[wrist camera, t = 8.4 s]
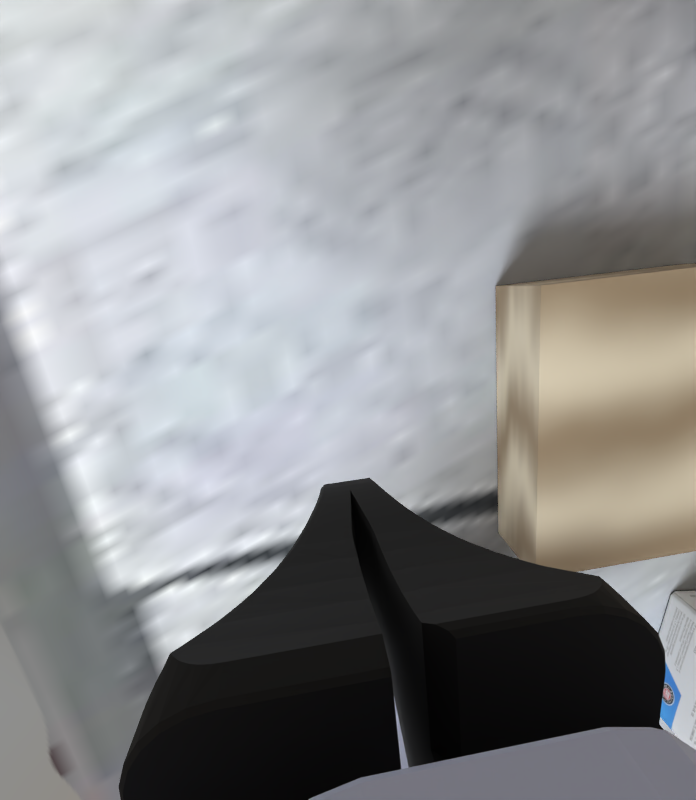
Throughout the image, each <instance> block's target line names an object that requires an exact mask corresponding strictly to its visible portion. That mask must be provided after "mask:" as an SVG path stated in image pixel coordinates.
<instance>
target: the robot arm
mask: <svg viewBox="0 0 696 800" xmlns="http://www.w3.org/2000/svg"><path fill="white" fill-rule="evenodd" d="M665 672H666V665H665V649H664V647H663V644H662V642H661V639H660V637H659V634H658V633H657V632H656V631H655V630H654V628H653V627H652V626H651V625H650V624H649V623H648V622H647V621H646V620H645V619H644V618H643V617H642V616H641V615H640V614H639V613H638V612H637V611H636V610H635V609H634V608H633V607H632V606H631V605H630V604H629V603H628V602H627V601H626V600H625V599H624V598H623V597H622V596H621V595H620V594H618V593H617V592H616V591H615V590H614V589H613V588H612V587H611V586H610V585H609V584H607V583H606V582H605V581H604V580H603V579H601V578H600V577H599V576H594V575H589V574H583V573H578V572H573V571H567V570H562V569H557V568H551V567H546V566H542V565H538V564H534V563H531V562H527V561H523V560H519V559H516V558H512V557H509V556H506V555H503V554H499V553H496V552H493V551H491V550H488V549H485V548H483V547H480V546H477V545H475V544H472V543H470V542H467V541H465V540H463V539H460V538H458V537H456V536H454V535H452V534H450V533H448V532H446V531H444V530H442V529H440V528H438V527H436V526H434V525H432V524H431V523H429V522H427V521H426V520H424V519H423V518H421V517H419V516H418V515H416V514H415V513H413V512H412V511H410V510H409V509H407V508H406V507H404V506H403V505H402V504H400V503H399V502H398V501H396V500H395V499H394V498H393V497H391V496H390V495H389V494H388V493H387V492H385V491H384V490H383V489H382V488H381V487H380V486H378V485H377V484H376V483H375V482H374V481H373V480H371V479H370V478H366V479H359V480H352V481H346V482H339V483H333V484H326V485H324V486H323V487H322V488H321V491H320V495H319V498H318V501H317V503H316V506H315V508H314V510H313V512H312V514H311V516H310V518H309V520H308V522H307V524H306V526H305V528H304V529H303V531H302V533H301V534H300V536H299V538H298V539H297V541H296V542H295V544H294V546H293V547H292V548H291V550H290V551H289V553H288V554H287V555H286V557H285V558H284V559H283V561H282V562H281V563H280V564H279V566H278V567H277V568H276V569H275V571H274V572H273V573H272V574H271V575H270V576H269V577H268V578H267V579H266V580H265V581H264V582H263V583H262V584H261V585H260V586H259V587H258V588H257V589H256V590H255V591H254V592H253V593H252V594H251V595H250V596H248V597H247V598H246V599H245V600H244V601H243V602H242V603H240V604H239V605H238V606H237V607H236V608H234V609H233V610H232V611H231V612H229V613H228V614H227V615H226V616H224V617H223V618H222V619H220V620H219V621H218V622H216V623H215V624H214V625H212V626H211V627H209V628H208V629H206V630H205V631H203V632H202V633H200V634H199V635H197V636H196V637H195V638H193V639H192V640H190V641H189V642H187V643H186V644H184V645H183V646H181V647H180V648H178V649H176V650H175V651H173V652H172V653H171V654H170V655H169V657H168V659H167V661H166V664H165V666H164V668H163V670H162V672H161V674H160V676H159V677H158V679H157V681H156V683H155V685H154V688H153V690H152V692H151V694H150V696H149V698H148V701H147V703H146V705H145V708H144V711H143V713H142V716H141V719H140V721H139V724H138V727H137V729H136V732H135V735H134V737H133V740H132V743H131V746H130V748H129V751H128V754H127V756H126V759H125V762H124V765H123V769H122V774H121V779H120V783H119V792H120V797H121V800H696V750H695V749H694V748H692V747H691V746H689V745H688V744H686V743H685V742H683V741H682V740H680V739H679V738H677V737H675V736H674V735H672V734H671V733H669V732H668V731H666V730H663V728H662V727H661V726H660V725H659V720H660V712H661V705H662V697H663V689H664V682H665Z"/></svg>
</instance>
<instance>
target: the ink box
mask: <svg viewBox="0 0 696 800" xmlns="http://www.w3.org/2000/svg"><path fill="white" fill-rule="evenodd" d="M659 637H660V639H661V642H662V644H663V647H664V649H665V665H666V672H665V682H664V689H663V697H662V705H661V712H660V717H661V718H662V719H663V720H664V722H665V723H666V724H667V725H668V726H669V728H670V729H671V730H672V731H673V732H674V734H675V735H676V736H677V737H678V738H679V739H680V740H682V741H683V742H685V743H686V744H688V745H689V746H691V747H692V748H694V749H695V750H696V591H675V592H674V593H673V594H671V596H670V599H669V603H668V606H667V609H666V612H665V616H664V619H663V622H662V625H661V629H660V632H659Z"/></svg>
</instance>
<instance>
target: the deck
mask: <svg viewBox="0 0 696 800" xmlns="http://www.w3.org/2000/svg"><path fill="white" fill-rule="evenodd" d="M496 364H497V457H498V533H499V534H500V535H501V537H502V538H503V539H504V540H505V542H506V543H507V544H508V545H509V547H510V548H511V549H512V550H513V552H514V553H515V554H516V555H517V557H518V558H519V559H520V560H523V561H527V562H531V563H534V564H538V565H542V566H546V567H551V568H557V569H562V570H567V571H573V572H578V571H584V570H590V569H595V568H601V567H607V566H612V565H618V564H624V563H629V562H635V561H641V560H647V559H652V558H658V557H664V556H669V555H675V554H681V553H686V552H692V551H696V263H692V264H679V265H671V266H662V267H654V268H645V269H637V270H628V271H620V272H611V273H602V274H594V275H585V276H577V277H568V278H560V279H551V280H543V281H534V282H526V283H517V284H509V285H500V286H496Z"/></svg>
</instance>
